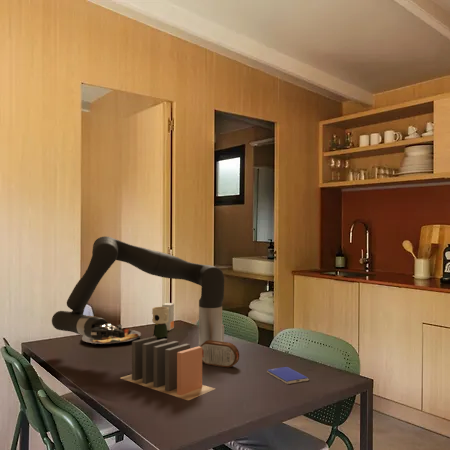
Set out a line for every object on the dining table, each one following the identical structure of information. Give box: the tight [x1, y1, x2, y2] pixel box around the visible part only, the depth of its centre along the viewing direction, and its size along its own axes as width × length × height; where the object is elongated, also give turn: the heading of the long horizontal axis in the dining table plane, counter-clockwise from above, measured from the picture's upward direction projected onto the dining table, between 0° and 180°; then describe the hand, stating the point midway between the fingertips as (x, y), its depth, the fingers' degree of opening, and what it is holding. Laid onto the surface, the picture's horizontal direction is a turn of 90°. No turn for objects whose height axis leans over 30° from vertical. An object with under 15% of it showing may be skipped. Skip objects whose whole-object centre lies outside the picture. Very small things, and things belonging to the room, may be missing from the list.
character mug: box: [151, 306, 169, 339], centre depth 207 cm, size 11×7×13 cm, turn 39°
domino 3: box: [153, 340, 179, 388], centre depth 145 cm, size 2×9×12 cm, turn 141°
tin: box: [200, 340, 240, 368], centre depth 166 cm, size 15×3×8 cm, turn 65°
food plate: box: [81, 327, 142, 345], centre depth 203 cm, size 25×23×4 cm
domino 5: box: [177, 345, 203, 395], centre depth 138 cm, size 2×9×12 cm, turn 141°
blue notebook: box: [266, 366, 310, 385], centre depth 154 cm, size 2×8×12 cm
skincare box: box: [161, 302, 175, 331], centre depth 224 cm, size 6×4×12 cm
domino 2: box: [142, 338, 168, 384], centre depth 148 cm, size 2×9×12 cm, turn 141°
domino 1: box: [131, 335, 158, 381], centre depth 151 cm, size 2×9×12 cm, turn 141°
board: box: [120, 373, 216, 401], centre depth 145 cm, size 30×12×1 cm, turn 51°
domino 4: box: [165, 343, 191, 391], centre depth 141 cm, size 2×9×12 cm, turn 141°
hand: (122, 334), depth 157 cm, fingers closed
